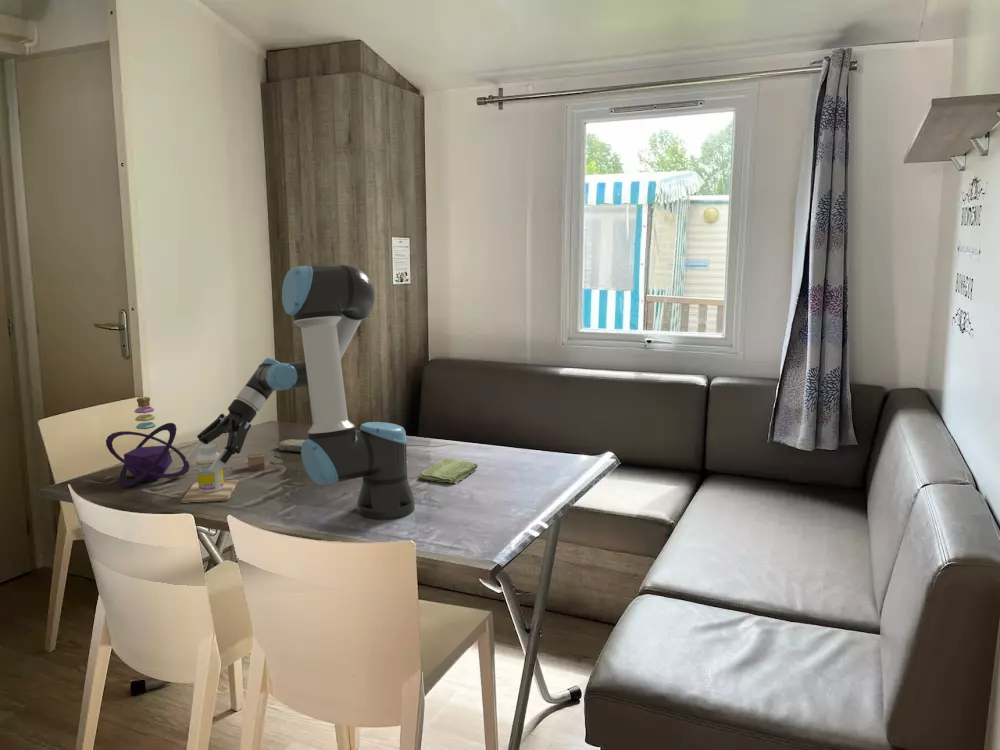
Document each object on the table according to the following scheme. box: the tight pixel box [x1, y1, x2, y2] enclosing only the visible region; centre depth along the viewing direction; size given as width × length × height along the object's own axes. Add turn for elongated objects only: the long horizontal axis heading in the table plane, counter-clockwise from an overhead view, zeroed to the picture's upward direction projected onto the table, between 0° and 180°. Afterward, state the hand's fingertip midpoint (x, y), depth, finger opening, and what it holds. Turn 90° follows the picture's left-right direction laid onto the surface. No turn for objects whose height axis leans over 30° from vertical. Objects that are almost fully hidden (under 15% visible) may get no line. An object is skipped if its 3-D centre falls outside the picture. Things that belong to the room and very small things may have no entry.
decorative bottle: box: [105, 396, 190, 489], centre depth 220 cm, size 22×21×25 cm
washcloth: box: [417, 457, 479, 484], centre depth 224 cm, size 13×18×3 cm
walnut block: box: [247, 452, 266, 472], centre depth 231 cm, size 4×4×4 cm
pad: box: [180, 479, 239, 504], centre depth 209 cm, size 16×12×1 cm
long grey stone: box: [278, 438, 307, 453], centre depth 251 cm, size 35×5×10 cm
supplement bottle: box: [195, 443, 224, 493], centre depth 207 cm, size 7×7×13 cm
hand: (200, 467), depth 205 cm, fingers open, 13 cm apart
